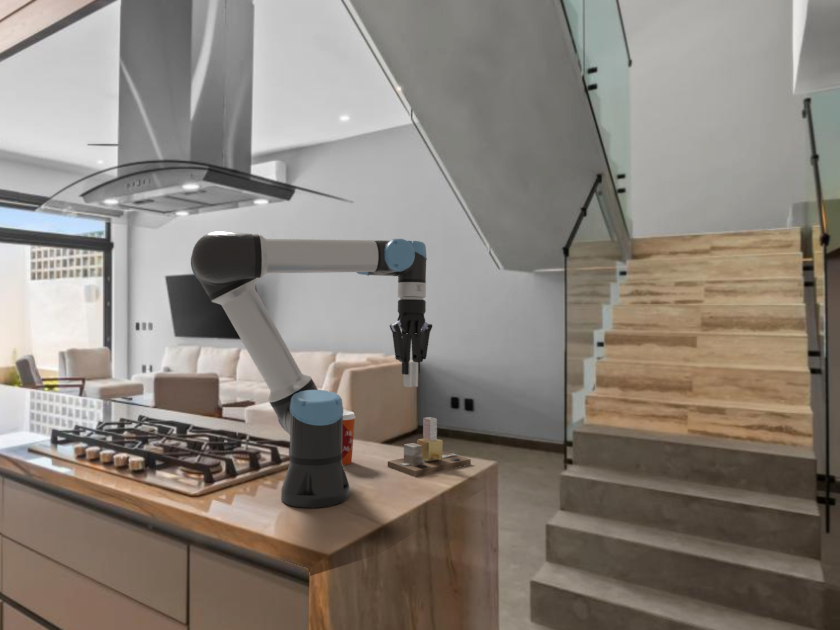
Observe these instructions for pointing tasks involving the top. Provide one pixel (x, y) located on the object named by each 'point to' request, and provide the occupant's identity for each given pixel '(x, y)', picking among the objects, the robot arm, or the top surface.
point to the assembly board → (418, 466)
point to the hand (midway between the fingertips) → (410, 386)
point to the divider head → (430, 440)
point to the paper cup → (347, 436)
